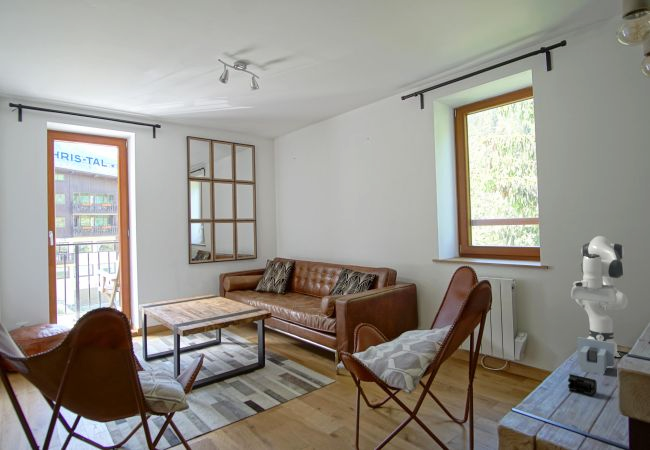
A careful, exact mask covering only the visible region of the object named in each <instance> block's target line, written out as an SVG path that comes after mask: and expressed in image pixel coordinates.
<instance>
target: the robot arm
mask: <svg viewBox="0 0 650 450" xmlns="http://www.w3.org/2000/svg"><path fill="white" fill-rule="evenodd" d="M580 253H581V255H582V257H583V259H582V263H581V273H583V275H582V276H583V277H582V279H581V280H578V281H577V280H576V281H573V283H572V284H573V286H572V288H571V292H570V298H571V299H572V300H575V302H576V303H577V304H578V305H579V306H580V307H581V309H583V310H584V311H586V314H587V315H588V316H587V317H588V320H589V329H588V336H587V338H588V339H594V340H601V341H607V342H613V343H614V353H617V351H619V349H618V345H617V344H618V343H617V342H616V341H615V339H614V338H615V335H614V331H613V319H612V317H610V316H609V315H608V314H605V313H603V312H602V311H607V310H624V309H625V308H626V307H628V302H629V299H628V298H627V296H626V294H625V293H624V292H622V291H620V290H619V289H618V287H616V286H615V284H614V279H619V278H621V277H622V276H624V273H625V266H624V264H623V263H622V259H623V258H624V256H625V248H624V247H623V245H622V244H619V243H611V241H610V239H608V237H605V236H604V235H602V236H601V235H597V236H595V237H593V238H592V239H591V240H590V242H588V243H584V244H583V245H582V247H581V251H580ZM600 309H602V311H601V310H600Z"/></svg>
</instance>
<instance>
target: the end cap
mask: <svg viewBox="0 0 650 450" xmlns="http://www.w3.org/2000/svg"><path fill="white" fill-rule="evenodd" d="M568 375H569V376H568V377H569V378H568V379H567V382H568V383H569V384H568V385H567V387H568V392H570V393H573V394H578V395H581V396H586V397H589V398H593V397H594V396H595V394H597V390H598V383H597V382H598V381H597V380H596V379H593V378H589V377H584V376H581V375H576V374H572V373H570V374H568Z"/></svg>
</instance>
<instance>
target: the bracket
mask: <svg viewBox="0 0 650 450" xmlns="http://www.w3.org/2000/svg"><path fill="white" fill-rule="evenodd" d="M597 354H598V352H597V348H592V347H590V349H589V361H592V362H597Z"/></svg>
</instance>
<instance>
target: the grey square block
mask: <svg viewBox="0 0 650 450" xmlns="http://www.w3.org/2000/svg"><path fill="white" fill-rule="evenodd" d="M590 347H592V348H597V352H598V354H597V362H592V361H589V349H590ZM578 362H580V363H579V364H580V371H581V372H587V373H591V372H592V373H591V374H595V373H597V375H600V374H604V373H605V374H606V372H605V370H606V367H607V366H613V365H614V366H615V358H614V343H613V342H607V341H601V340H594V339H588V337H580V336H578V337H577V363H578ZM606 371H607V370H606ZM605 374H604V375H605Z"/></svg>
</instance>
